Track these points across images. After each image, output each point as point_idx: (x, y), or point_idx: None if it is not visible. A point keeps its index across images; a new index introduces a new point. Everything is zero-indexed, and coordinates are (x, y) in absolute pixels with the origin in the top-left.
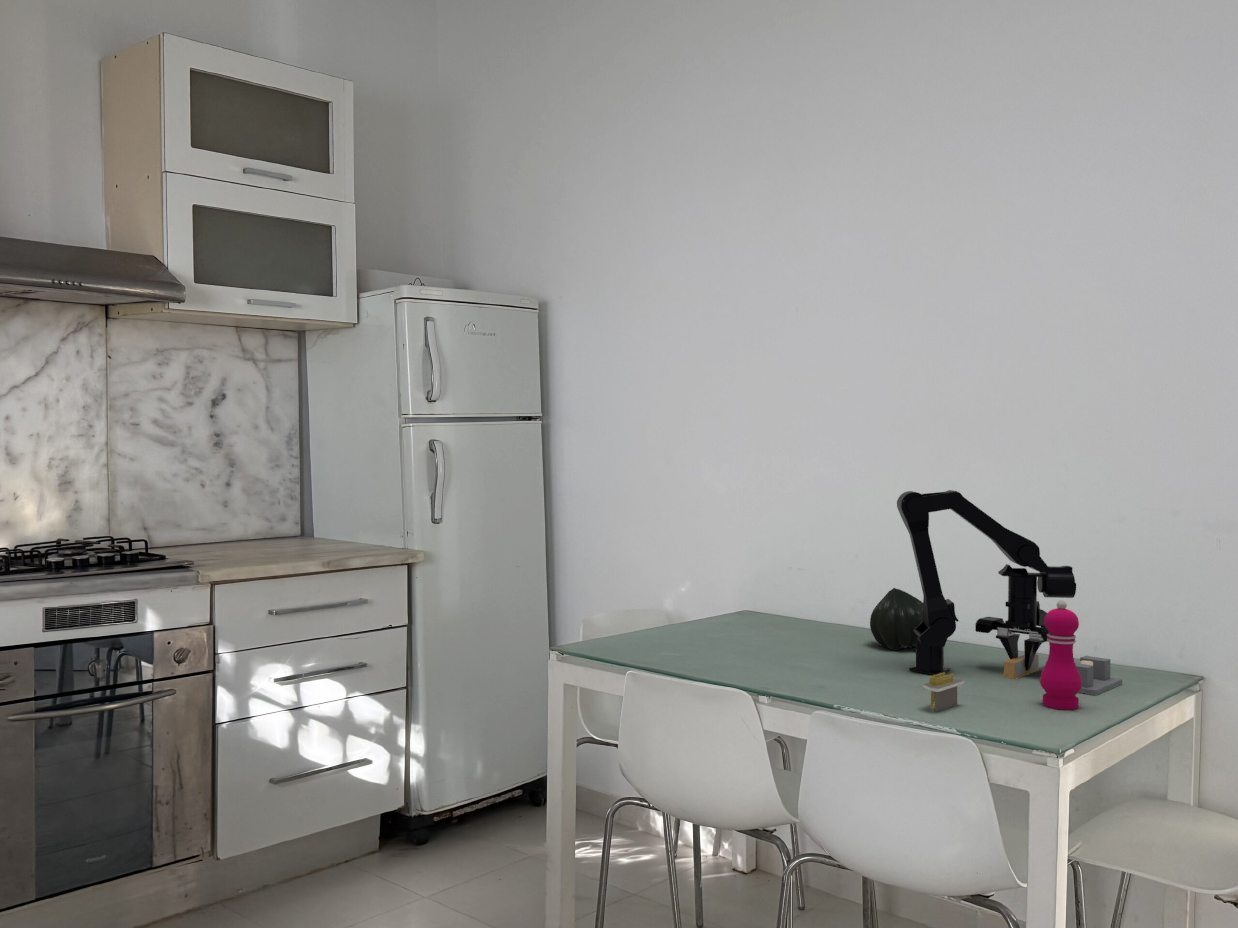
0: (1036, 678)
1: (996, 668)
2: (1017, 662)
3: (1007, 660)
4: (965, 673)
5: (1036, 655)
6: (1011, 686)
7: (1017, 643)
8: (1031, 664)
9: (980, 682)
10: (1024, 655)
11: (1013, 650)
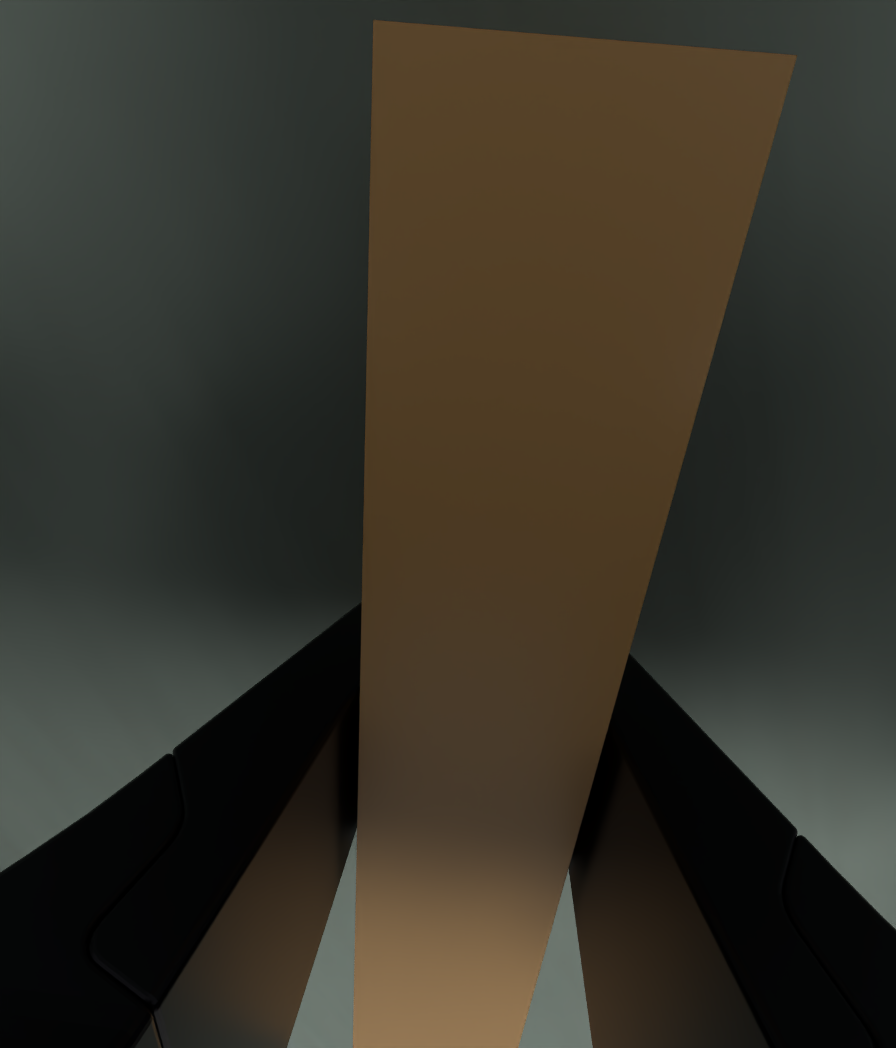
0: (720, 710)
1: (40, 449)
2: (520, 1027)
3: (361, 1021)
4: None
5: (729, 246)
6: (571, 1040)
7: (142, 1046)
8: (651, 683)
9: (325, 1031)
10: (404, 498)
11: (278, 1008)
